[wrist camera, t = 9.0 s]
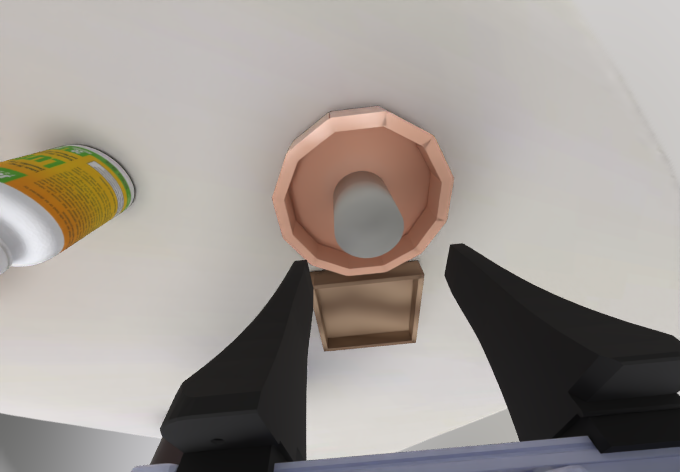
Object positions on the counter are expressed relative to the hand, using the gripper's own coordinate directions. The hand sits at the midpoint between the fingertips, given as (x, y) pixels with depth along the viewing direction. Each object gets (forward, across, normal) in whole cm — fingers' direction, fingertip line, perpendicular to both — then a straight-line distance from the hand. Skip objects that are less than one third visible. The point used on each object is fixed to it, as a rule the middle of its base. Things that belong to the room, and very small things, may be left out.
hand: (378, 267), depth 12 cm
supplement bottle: (+10, +20, -4) cm, 22 cm away
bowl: (+9, 0, 0) cm, 9 cm away
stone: (+8, 0, 0) cm, 8 cm away
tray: (+9, 0, +14) cm, 16 cm away
